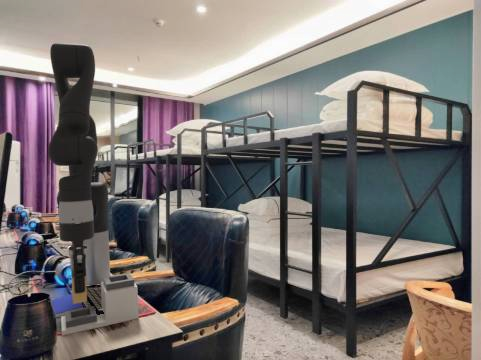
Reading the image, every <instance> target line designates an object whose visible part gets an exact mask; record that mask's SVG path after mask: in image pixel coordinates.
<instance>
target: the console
mask: <svg viewBox="0 0 481 360" xmlns="http://www.w3.org/2000/svg"><path fill="white" fill-rule="evenodd" d="M138 292H139V291H138V286H137V284H136V283H135V278H134V277H133V276H132V274H131V272H128V273H120V274H115V275H114V274H113V275H110V276H107V277H103V282H101V285H100V294H101V295H100V296H101V297H100V298H101V308H102V309H103V312H104V314H100V315H97V314H96V311H95V310H96V308H95V305H93V306H92V305H91V306H88V307H86V308H81V309H76V310H71V311H65V315H63V316H60V319H61V320H60V325H61V326H60V327H61V336H66V335H71V334H76V333H80V332H84V331H89V330H93V329H97V328H102V327H106V326H110V325H116V324H119V323H123V322H124V323H125V322H129V321H134V320H137V319H139V317H140V316H139V298H138V297H139V296H138V295H139V294H138ZM89 314H90V315H89Z"/></svg>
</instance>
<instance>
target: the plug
mask: <svg viewBox="0 0 481 360" xmlns="http://www.w3.org/2000/svg"><path fill="white" fill-rule="evenodd" d="M70 269H71V270H70V272H71V292H72V293H71V294H72V296H73V304H76V303H82V302H85V303H86V302H88V294H87V293H88V292H87V291H88V290H87V288H88V287H86V276H85V292H83V293H78V294H76V293H75V287H74V277H73V268H70ZM78 271H82V269H77V270H76V272H78Z"/></svg>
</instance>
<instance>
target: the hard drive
mask: <svg viewBox="0 0 481 360" xmlns="http://www.w3.org/2000/svg"><path fill="white" fill-rule="evenodd" d="M50 299H51V301H52V305H53V308H54V312H55V316H56V317H55V318H59V317H62V316H65V311H71V310H76V309H81V308H83V305H82V303H76V304H73V296H72V293H71V294H65V295H63V296H62V295H61V296H57V297H54V298H50Z"/></svg>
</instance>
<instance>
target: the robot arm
mask: <svg viewBox="0 0 481 360" xmlns="http://www.w3.org/2000/svg"><path fill="white" fill-rule="evenodd" d="M49 53H50V54H49V55H50V63H51V67H52V73H53V77H54V83H55V87H56V91H57V97H58V102H59V107H58V108H59V109H58V123H57V126H56V129H55V131H54V133H53V135H52V137H51V139H50V141H49V144H48V148H47V155H48V159H49V160H50V161H51V162H52V164H54V165H55V166H59V167H60V166H61V167H68V175H65V176H63V177H61V178H59V180H58V194H59V195H58V197H59V200H58V203H59V204H58V226H59V227H58V230H59V233H58V234H59V240H60V241H62V242H67V243H68V242H71V245H70V246H68V255H69V262H70V263H69V264H70V267H71V268H73V277H74V287H75V293H76V294H78V293H83V292H85V276H86V285H91V286H92V285H97V284H101V282H103V277H107V276H111V265H110V262H111V261H110V260H111V259H110V241H109V240H110V239H109V237H110V236H109V214H108V213H109V210H108V209H109V190H108V186H107V184H106V183H105V182H98V181H97V182H95V181H94V182H92V177H93V172H94V168H95V164H96V160H97V156H98V153H99V148H98V136H97V135H98V134H97V126H96V122H95V120H94V118H93V117H92V115H91V114H90V107H91V106H90V105H91V97H92V92H93V87H94V82H95V75H96V74H95V73H96V60H95V55H94V51H93V49H92V47H91V46H89V45H87V44H81V43H80V44H79V43H62V42H61V43H60V42H58V43H57V42H56V43H52V44H51V47H50V52H49ZM69 79H78V80H77V81H76V83H74V85H72V87H71V86H70V82H69ZM94 211H96V214H95V215H94ZM71 268H70V269H71ZM77 269H82V271H78V272H76V270H77Z"/></svg>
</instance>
